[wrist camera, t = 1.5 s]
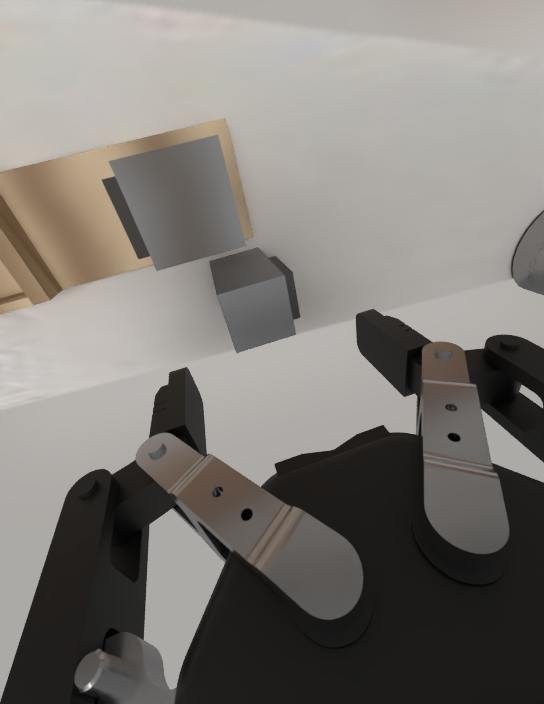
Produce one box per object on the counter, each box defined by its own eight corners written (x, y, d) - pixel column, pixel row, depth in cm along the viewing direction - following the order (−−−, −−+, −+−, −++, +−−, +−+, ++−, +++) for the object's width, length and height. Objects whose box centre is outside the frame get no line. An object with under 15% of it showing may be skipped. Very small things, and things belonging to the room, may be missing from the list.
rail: (221, 125, 19) (248, 77, 10) (247, 231, 22) (283, 265, 14) (-125, 208, 17) (-465, 240, 8) (-36, 309, 20) (-205, 406, 12)
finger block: (267, 244, 23) (297, 271, 17) (277, 291, 25) (307, 330, 19) (209, 261, 23) (216, 295, 16) (224, 306, 25) (236, 353, 18)
